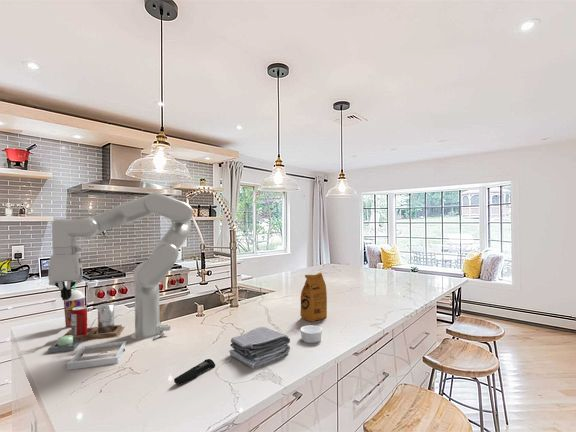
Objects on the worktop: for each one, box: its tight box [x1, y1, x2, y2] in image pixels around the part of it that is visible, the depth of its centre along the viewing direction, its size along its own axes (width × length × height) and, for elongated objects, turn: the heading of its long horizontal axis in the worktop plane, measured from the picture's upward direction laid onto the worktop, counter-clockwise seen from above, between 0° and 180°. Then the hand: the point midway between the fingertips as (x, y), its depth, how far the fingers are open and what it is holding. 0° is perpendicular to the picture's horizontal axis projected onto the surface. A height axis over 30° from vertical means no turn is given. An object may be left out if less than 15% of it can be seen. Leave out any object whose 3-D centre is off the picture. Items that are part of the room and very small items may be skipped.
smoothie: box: [63, 284, 86, 328], centre depth 145 cm, size 8×8×20 cm
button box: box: [47, 338, 82, 354], centre depth 119 cm, size 8×8×3 cm
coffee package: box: [299, 272, 328, 323], centre depth 155 cm, size 10×12×22 cm
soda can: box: [70, 306, 88, 336], centre depth 130 cm, size 6×6×12 cm
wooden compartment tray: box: [63, 324, 125, 342], centre depth 132 cm, size 22×13×3 cm, turn 107°
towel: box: [228, 326, 291, 369], centre depth 114 cm, size 15×18×8 cm
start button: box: [57, 335, 73, 346], centre depth 119 cm, size 5×5×4 cm
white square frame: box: [67, 340, 127, 370], centre depth 113 cm, size 15×15×2 cm
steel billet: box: [97, 302, 115, 333], centre depth 133 cm, size 6×6×12 cm
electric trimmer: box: [173, 358, 216, 385], centre depth 99 cm, size 4×16×3 cm, turn 150°
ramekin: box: [300, 324, 323, 344], centre depth 128 cm, size 9×9×4 cm
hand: (66, 299), depth 119 cm, fingers closed
